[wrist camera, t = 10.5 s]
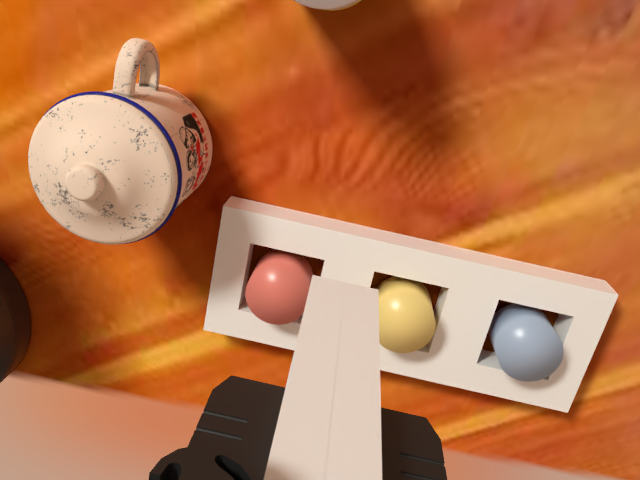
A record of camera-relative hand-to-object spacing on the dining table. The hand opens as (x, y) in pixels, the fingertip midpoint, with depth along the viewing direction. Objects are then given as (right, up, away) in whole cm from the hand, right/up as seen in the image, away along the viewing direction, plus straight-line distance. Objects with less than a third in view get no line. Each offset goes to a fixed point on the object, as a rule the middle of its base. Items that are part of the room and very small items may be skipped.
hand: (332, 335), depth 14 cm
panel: (+6, -2, +32) cm, 32 cm away
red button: (-3, -1, +31) cm, 31 cm away
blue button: (+15, -5, +31) cm, 35 cm away
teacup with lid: (-12, +10, +29) cm, 33 cm away
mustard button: (+6, -3, +31) cm, 32 cm away
